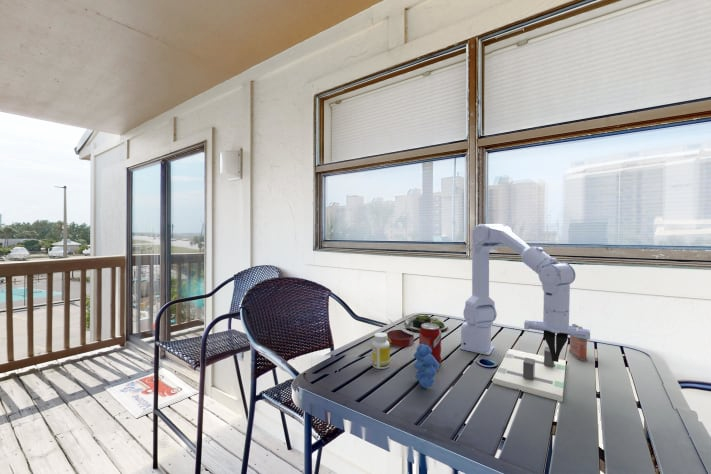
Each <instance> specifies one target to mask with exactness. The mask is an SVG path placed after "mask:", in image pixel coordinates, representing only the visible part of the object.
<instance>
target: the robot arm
mask: <svg viewBox="0 0 711 474" xmlns="http://www.w3.org/2000/svg"><path fill="white" fill-rule="evenodd" d="M500 244H503V245H504V246H506V247H507V248H509V249H511V250H513V252H515V253H516V254H518V255H520V256H521V262H522V263H523V264H525V265H526V266H527V267H528V268H529V269H531V270H532V271H533V272H534V273H535V274H537V275H538V278H539V282H540V283H541V286H542V287H541V289H542V291H543V319H542V321H538V320H524V322H523V324H524V325H523V326H524V327H523V329H524V330H534V331H540V332H543V338H544V340H545V342H546V344H547V347H549V350H550V353H551V357H552V361H555V362H558V360H559V359H560V355H561V352H562V350H563V348H564V346H565V344H566V343H567V341H568V340H569V339H568V338H569V337H570V336H576V337H582V338H585V339H588V340H591V330H590V329H587V328H583V327H582V328H583V329H582V328H577V327H573V326H572V325H570V299H571V297H570V295H571V284H572V283H573V282H574V281H575V279H576V271H575V269H574V268H573V266H571V265H570V264H569V263H568V262H560V261H558V259H557V258H556V257H553V256H550V254H548V253H547V252H545V251H544V250H545V249H544V248H543V247H541V246H530V245H529V244H527V243H526V242H525V241H524V240H522V238H520V237H519V236H518V235H517V234H515V233H514V232H513V230H512V228H511V227H509V226H507V224H505V223H485V224H484V223H479V224H477V225H476V226H475V227H474V228H473V229H472V244H471V274H472V275H471V290H472V291H471V296H469V298H468V299H466V301H465V306H464V309H463V317H464V320H465V321H463V322H462V325H461V330H460V350H463V351H468V352H471V353H477V354H481V355H486V356H490V355H491V353H492V352H493V350H494V349H495V346H494V345H492V325H493V324H494V321H496V319H497V316H498V315H497V310H496V305H495V301H494V300H493V299H492V298H491V297H490V251H491V250H493V249H494V248H495V247H496V246H498V245H500Z"/></svg>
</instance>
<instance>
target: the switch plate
mask: <svg viewBox="0 0 711 474" xmlns="http://www.w3.org/2000/svg"><path fill="white" fill-rule="evenodd" d="M525 357H526V358H530V359H535V375H534V379H533V380H530V379H526V378H523V362H524V359H525ZM566 362H567V361H566V360H565V359H560V358H559V360H558V362H555V361H554V367H550V366H546V365H544V355H540V354H536V353H531V352H525V351H522V350H517V349H511V348H508V349H507V351H506V354H505V355H504V357H503V359H502V361H501V363H500V364H499V366H498V368H497V369H496V372H495V374H494V375H493V376H492V377H493V378H492V383H493V384H494V385H498V386H502V387H506V388H508V389H513V388H514V389H513V390H516V389H519V390H518V391H520V390H521V391H520V392H524V393H528V394H532V395H535V396H539V397H543V398H547V399H550V400H554V401H558V402H561V403H563V401H564V400H563V397H564V388H565V379H566V378H565V377H566V367H567V363H566Z"/></svg>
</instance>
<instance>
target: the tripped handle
mask: <svg viewBox="0 0 711 474" xmlns="http://www.w3.org/2000/svg"><path fill="white" fill-rule="evenodd" d="M534 375H535V359H530V358H526V357H525V359H524V362H523V378H526V379H530V380H533V379H534Z"/></svg>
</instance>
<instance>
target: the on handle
mask: <svg viewBox="0 0 711 474" xmlns="http://www.w3.org/2000/svg"><path fill="white" fill-rule="evenodd" d="M543 356H544V365H546V366H550V367H554V361H552V357H551V353H550V350H549V347H548V346H545V347H544V352H543Z"/></svg>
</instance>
